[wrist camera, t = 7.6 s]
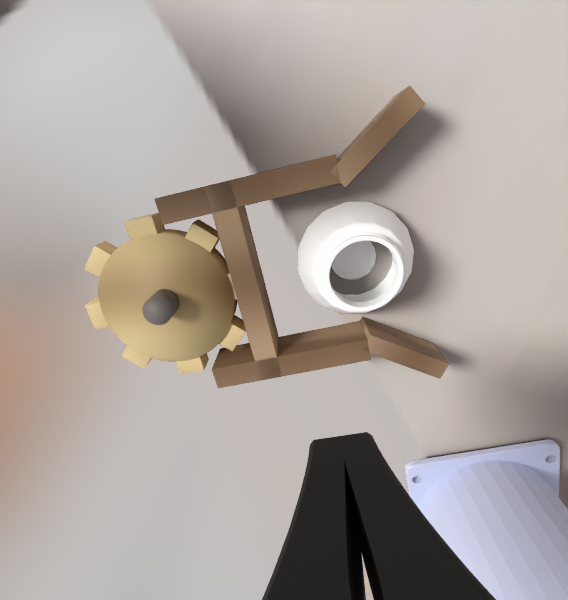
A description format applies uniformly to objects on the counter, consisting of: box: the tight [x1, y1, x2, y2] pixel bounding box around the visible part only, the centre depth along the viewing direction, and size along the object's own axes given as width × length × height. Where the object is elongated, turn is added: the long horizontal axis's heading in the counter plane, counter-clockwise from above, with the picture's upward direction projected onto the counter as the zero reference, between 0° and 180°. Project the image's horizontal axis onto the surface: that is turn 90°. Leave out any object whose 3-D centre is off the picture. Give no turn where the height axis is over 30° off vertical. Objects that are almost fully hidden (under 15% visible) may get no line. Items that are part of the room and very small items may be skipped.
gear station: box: [84, 86, 449, 388], centre depth 16 cm, size 12×15×2 cm
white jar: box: [298, 202, 414, 314], centre depth 16 cm, size 5×3×5 cm
